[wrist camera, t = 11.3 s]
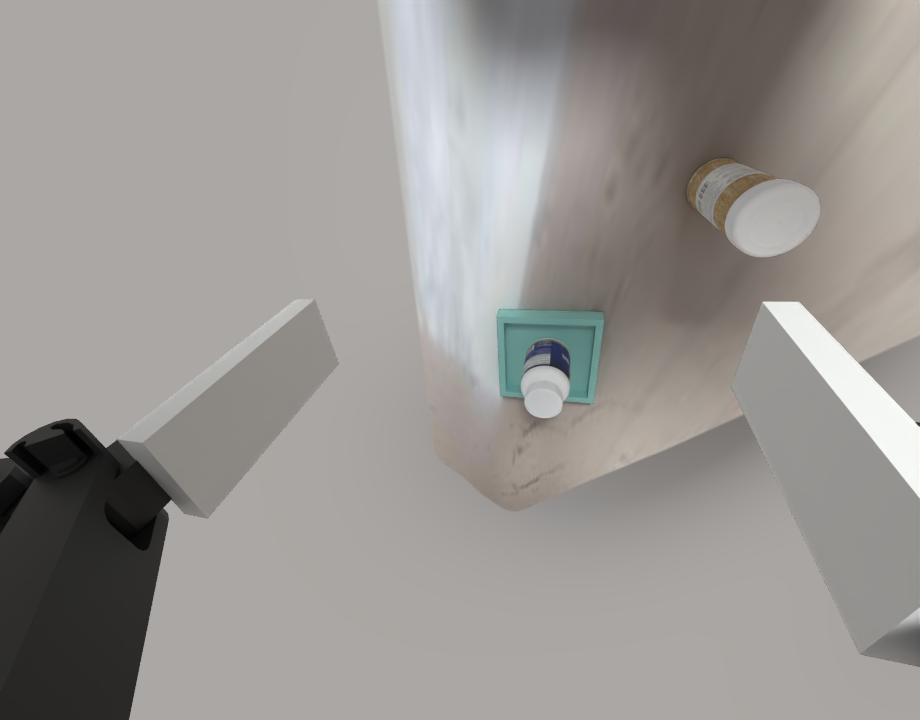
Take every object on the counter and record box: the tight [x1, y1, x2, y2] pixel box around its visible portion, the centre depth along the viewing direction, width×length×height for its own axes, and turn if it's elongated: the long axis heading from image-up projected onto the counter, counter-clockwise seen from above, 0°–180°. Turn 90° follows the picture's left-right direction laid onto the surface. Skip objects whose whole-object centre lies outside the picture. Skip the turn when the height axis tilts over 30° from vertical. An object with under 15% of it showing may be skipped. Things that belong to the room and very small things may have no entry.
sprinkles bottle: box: [686, 158, 820, 257], centre depth 29 cm, size 5×5×13 cm
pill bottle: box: [521, 338, 570, 418], centre depth 44 cm, size 5×5×10 cm
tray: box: [497, 309, 604, 404], centre depth 47 cm, size 12×12×2 cm
